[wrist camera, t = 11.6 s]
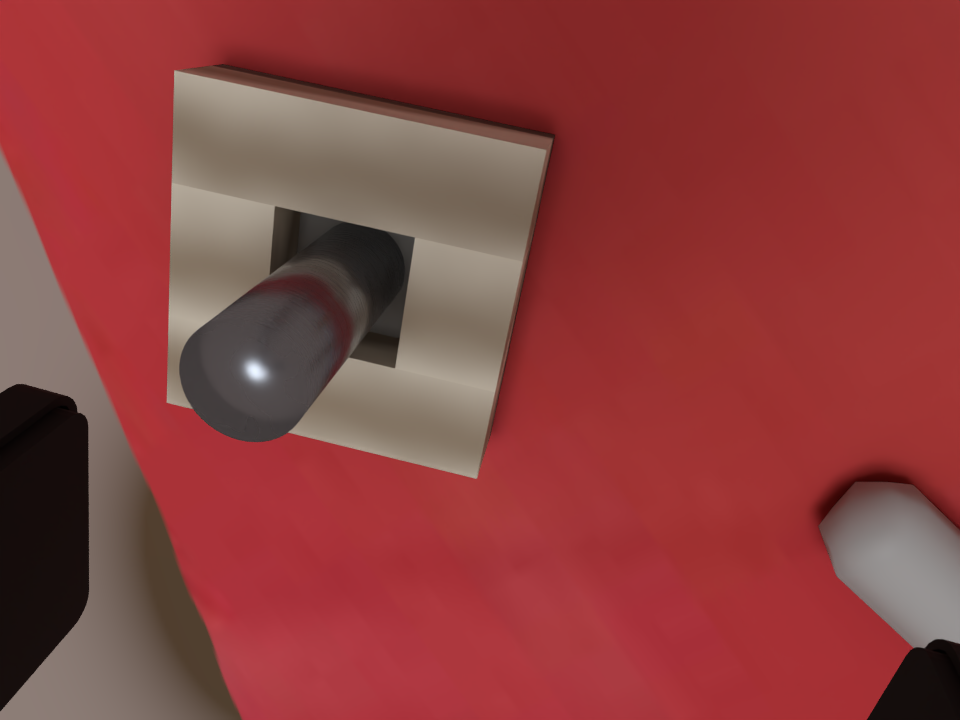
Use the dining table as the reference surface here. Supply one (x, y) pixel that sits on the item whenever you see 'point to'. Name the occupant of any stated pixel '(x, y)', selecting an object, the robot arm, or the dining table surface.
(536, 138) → the socket block
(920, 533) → the tube
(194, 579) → the dining table surface
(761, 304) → the dining table surface
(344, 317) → the steel peg
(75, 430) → the robot arm
